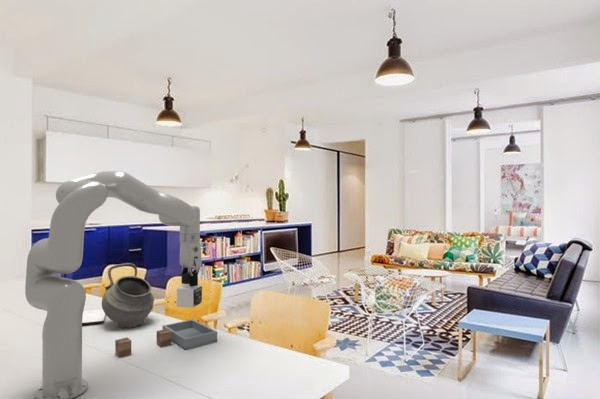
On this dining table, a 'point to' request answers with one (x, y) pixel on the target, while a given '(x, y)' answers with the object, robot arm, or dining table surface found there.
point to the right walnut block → (163, 337)
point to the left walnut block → (123, 347)
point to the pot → (127, 299)
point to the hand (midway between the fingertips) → (189, 284)
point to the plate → (93, 317)
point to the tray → (191, 334)
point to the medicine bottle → (188, 293)
